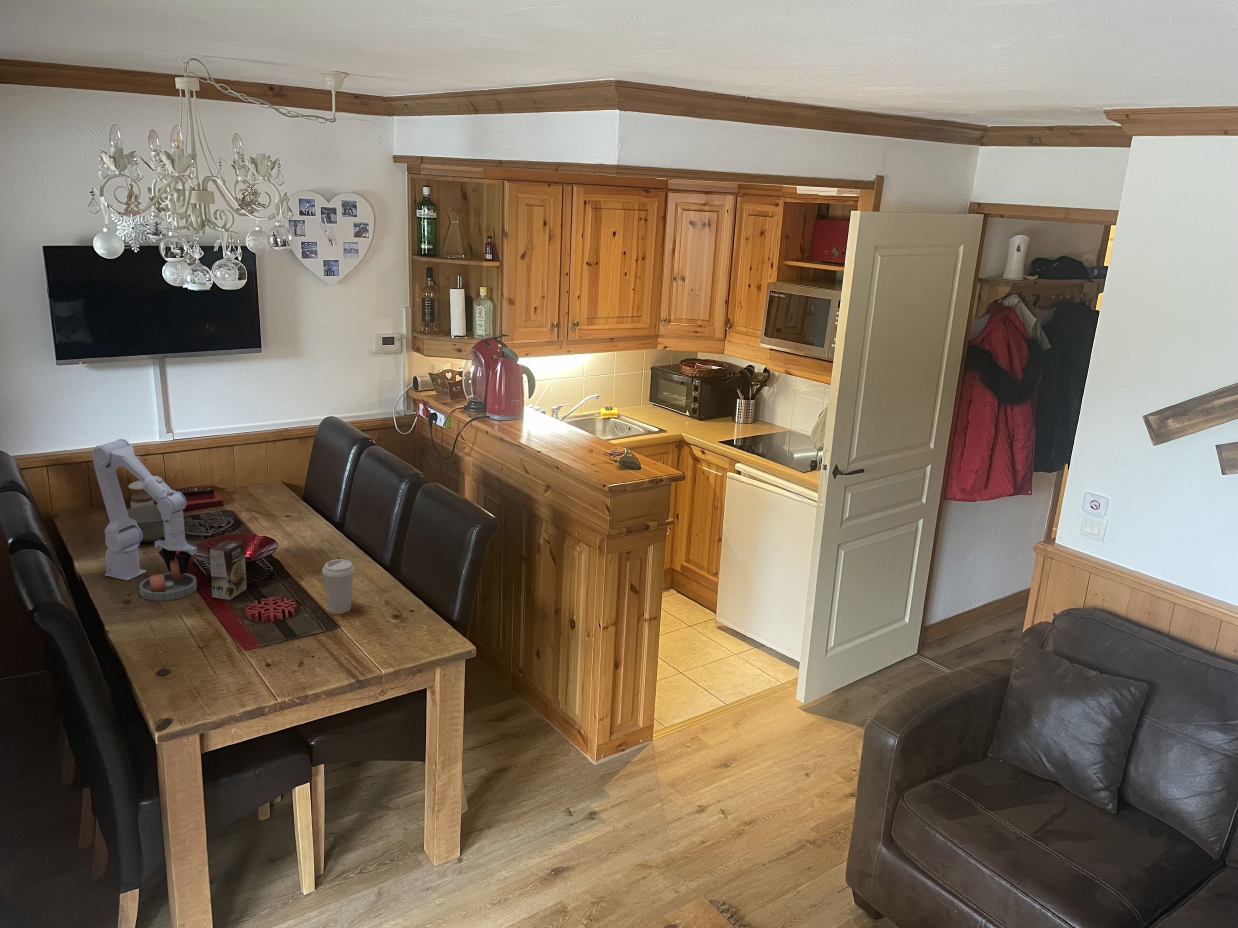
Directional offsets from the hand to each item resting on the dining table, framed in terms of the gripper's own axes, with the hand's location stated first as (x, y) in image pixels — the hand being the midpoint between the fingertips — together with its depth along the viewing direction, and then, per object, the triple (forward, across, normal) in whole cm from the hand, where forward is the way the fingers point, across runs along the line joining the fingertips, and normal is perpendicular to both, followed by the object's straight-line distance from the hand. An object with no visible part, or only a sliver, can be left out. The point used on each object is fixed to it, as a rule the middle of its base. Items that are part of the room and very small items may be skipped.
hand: (177, 571), depth 288 cm
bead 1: (+4, 0, +8) cm, 9 cm away
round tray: (+5, 0, +4) cm, 6 cm away
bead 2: (+1, 0, 0) cm, 1 cm away
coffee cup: (+5, -55, -6) cm, 56 cm away
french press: (+5, +52, -41) cm, 66 cm away
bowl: (+5, +36, -27) cm, 45 cm away
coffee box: (+5, -18, -2) cm, 19 cm away
